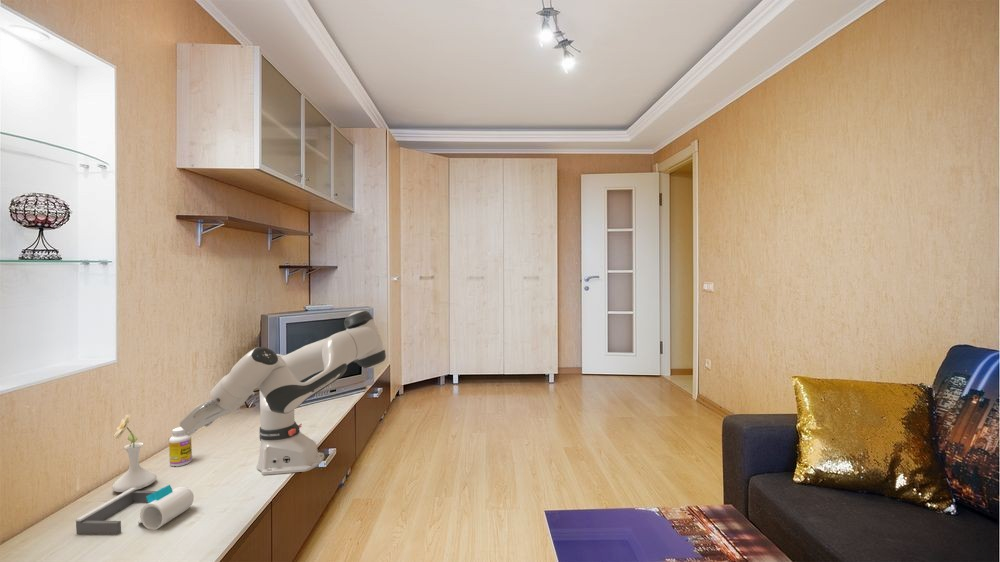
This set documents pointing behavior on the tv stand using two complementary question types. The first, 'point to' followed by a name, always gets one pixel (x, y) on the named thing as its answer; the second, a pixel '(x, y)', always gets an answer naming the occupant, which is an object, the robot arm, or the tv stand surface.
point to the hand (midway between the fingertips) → (197, 428)
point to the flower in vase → (132, 464)
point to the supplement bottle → (180, 448)
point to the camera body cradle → (109, 513)
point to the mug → (165, 506)
